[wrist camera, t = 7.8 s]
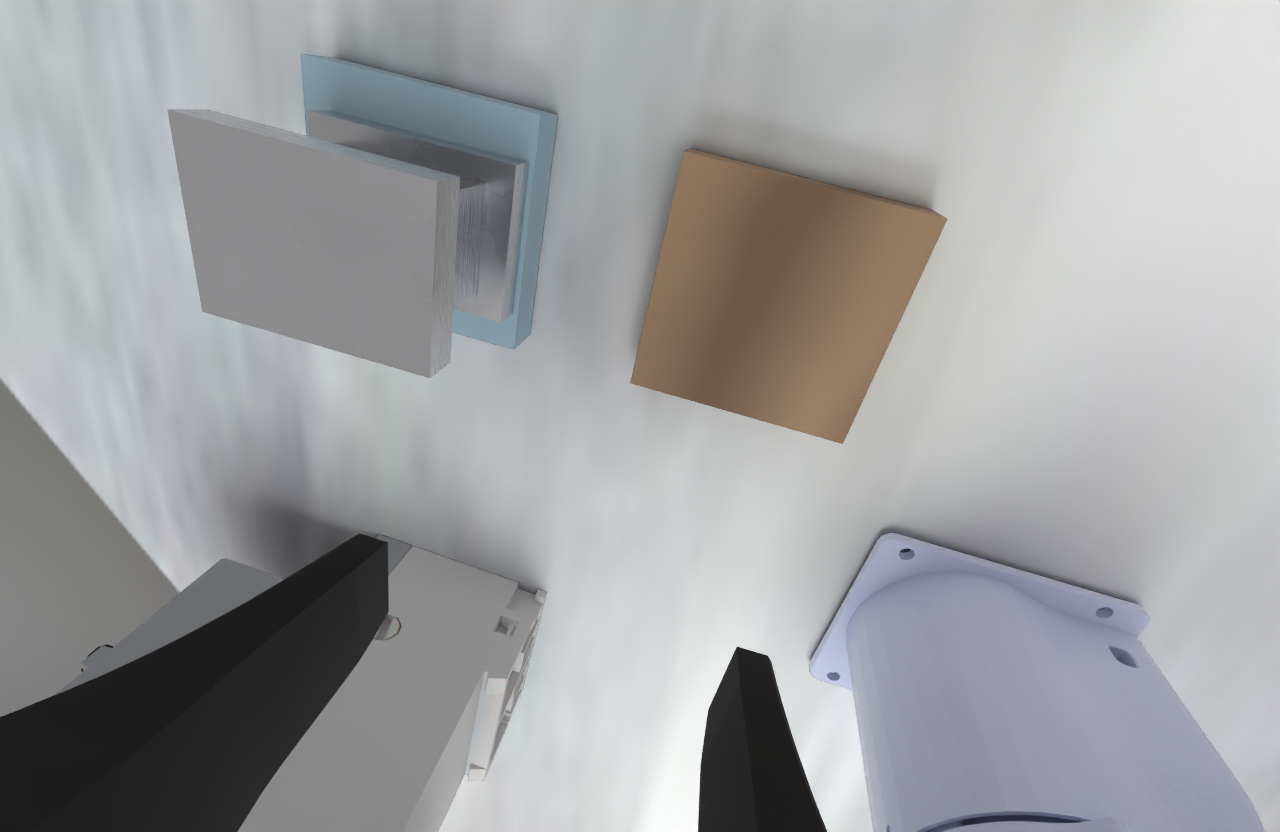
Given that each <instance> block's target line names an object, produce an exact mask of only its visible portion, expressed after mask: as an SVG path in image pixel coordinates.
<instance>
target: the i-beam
mask: <svg viewBox="0 0 1280 832" xmlns="http://www.w3.org/2000/svg"><path fill="white" fill-rule="evenodd" d="M307 112H308V127H309V137H308V136H305V135H301V134H297V133H293V132H290V131H286V130H282V129H278V128H275V127H271V126H267V125H263V124H260V123H256V122H252V121H248V120H245V119H241V118H237V117H233V116H229V115H226V114H222V113H218V112H214V111H211V110H168V115H169V121H170V127H171V132H172V138H173V144H174V150H175V155H176V161H177V167H178V173H179V179H180V184H181V190H182V196H183V202H184V208H185V213H186V219H187V225H188V231H189V237H190V242H191V248H192V254H193V260H194V266H195V271H196V277H197V283H198V289H199V294H200V300H201V306H202V312H206V313H209V314H213V315H216V316H219V317H223V318H226V319H230V320H233V321H236V322H240V323H243V324H247V325H250V326H254V327H257V328H260V329H264V330H267V331H271V332H274V333H278V334H281V335H284V336H288V337H291V338H295V339H298V340H301V341H305V342H308V343H312V344H315V345H319V346H322V347H325V348H329V349H332V350H336V351H339V352H343V353H346V354H349V355H353V356H356V357H360V358H363V359H366V360H370V361H373V362H377V363H380V364H384V365H387V366H390V367H394V368H397V369H401V370H404V371H408V372H411V373H414V374H418V375H421V376H425V377H428V378H431V377H432V376H433V375H434V374H436V373H437V372H438V371H440V370H441V369H442V368H443V367H445V366H446V365H447V364H448V363H450V351H451V333H452V315H453V310H458V311H461V312H465V313H468V314H472V315H475V316H479V317H482V318H486V319H489V320H493V321H496V322H500V323H501V322H502V321H503V320H505V319H506V318H507V317H508V316H510V315H511V314H512V313H513V310H514V301H515V292H516V283H517V274H518V264H519V255H520V246H521V237H522V228H523V219H524V210H525V201H526V192H527V183H528V174H529V165H530V162H526V161H522V160H519V159H515V158H511V157H507V156H503V155H500V154H496V153H492V152H488V151H484V150H481V149H477V148H473V147H469V146H465V145H461V144H458V143H454V142H450V141H446V140H442V139H439V138H435V137H431V136H427V135H423V134H420V133H416V132H412V131H408V130H404V129H400V128H397V127H393V126H389V125H385V124H381V123H378V122H374V121H370V120H366V119H362V118H358V117H355V116H351V115H347V114H343V113H339V112H336V111H332V110H307Z"/></svg>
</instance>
